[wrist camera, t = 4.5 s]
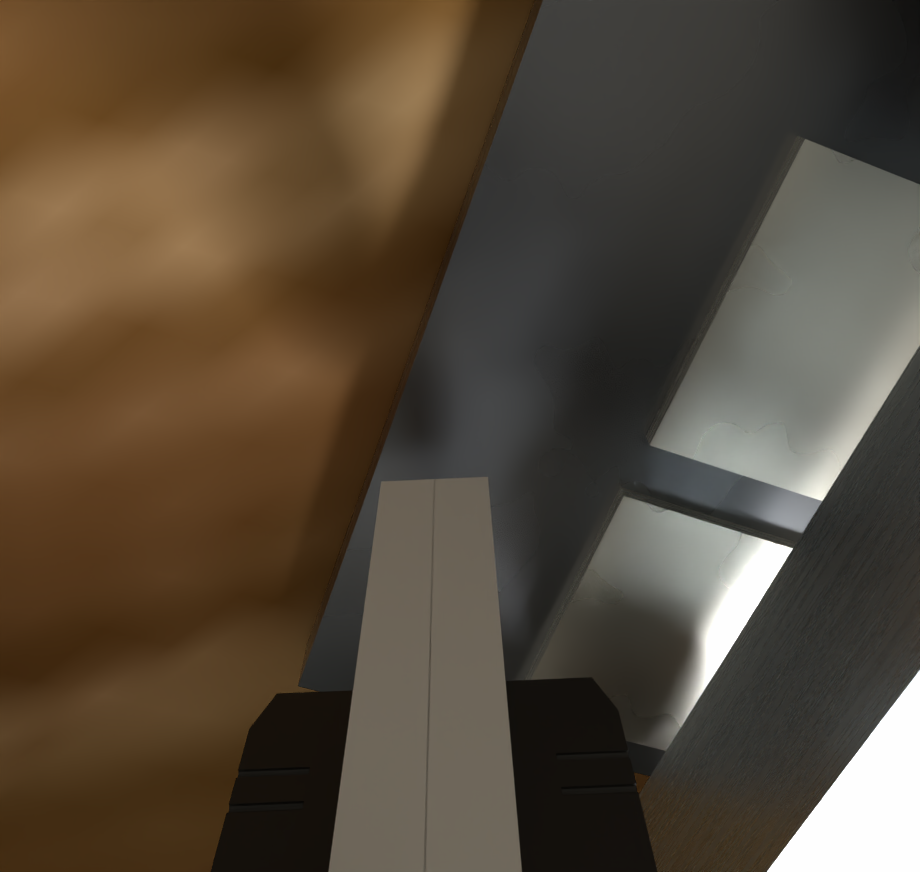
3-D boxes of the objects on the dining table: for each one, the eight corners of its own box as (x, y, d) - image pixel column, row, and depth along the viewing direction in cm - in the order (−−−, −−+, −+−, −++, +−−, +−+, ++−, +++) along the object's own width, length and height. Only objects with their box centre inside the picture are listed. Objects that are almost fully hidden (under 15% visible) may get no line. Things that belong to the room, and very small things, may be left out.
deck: (903, 801, 20) (990, 956, 17) (307, 644, 18) (276, 787, 14) (1489, 81, 13) (1825, 109, 10) (648, -322, 11) (732, -455, 8)
